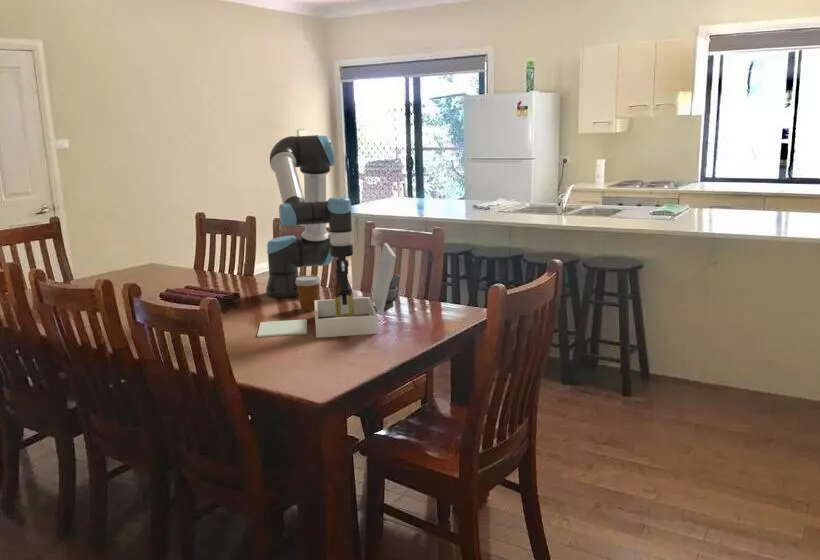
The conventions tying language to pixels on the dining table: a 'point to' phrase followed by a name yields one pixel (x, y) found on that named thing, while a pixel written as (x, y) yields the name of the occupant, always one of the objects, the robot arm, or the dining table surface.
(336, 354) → the dining table surface
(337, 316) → the sauce bottle
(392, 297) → the mortar and pestle
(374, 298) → the case lid
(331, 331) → the case
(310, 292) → the disposable coffee cup
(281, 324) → the mat
